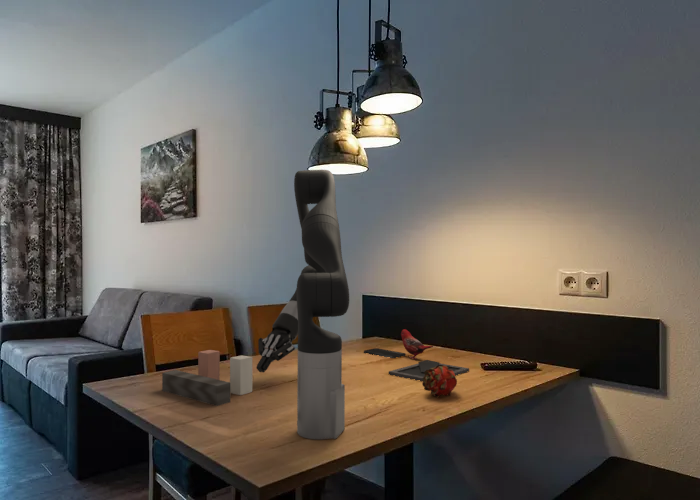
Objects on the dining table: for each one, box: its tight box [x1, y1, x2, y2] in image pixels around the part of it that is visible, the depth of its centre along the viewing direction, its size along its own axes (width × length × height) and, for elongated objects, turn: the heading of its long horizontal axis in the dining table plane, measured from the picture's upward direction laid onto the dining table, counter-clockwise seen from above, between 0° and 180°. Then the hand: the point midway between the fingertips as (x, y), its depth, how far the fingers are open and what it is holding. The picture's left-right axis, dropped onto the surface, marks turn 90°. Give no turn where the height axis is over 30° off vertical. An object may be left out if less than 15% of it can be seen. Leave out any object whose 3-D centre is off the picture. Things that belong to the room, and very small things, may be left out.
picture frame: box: [388, 359, 470, 382], centre depth 160 cm, size 16×2×21 cm
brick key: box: [197, 349, 221, 380], centre depth 140 cm, size 4×4×9 cm
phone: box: [363, 347, 407, 359], centre depth 189 cm, size 8×1×15 cm
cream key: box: [229, 354, 253, 396], centre depth 132 cm, size 4×4×9 cm
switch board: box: [161, 369, 231, 407], centre depth 133 cm, size 23×16×6 cm
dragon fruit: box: [421, 366, 458, 398], centre depth 135 cm, size 8×8×12 cm
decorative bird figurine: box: [400, 328, 434, 360], centre depth 179 cm, size 3×18×10 cm, turn 33°
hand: (259, 370), depth 138 cm, fingers closed
